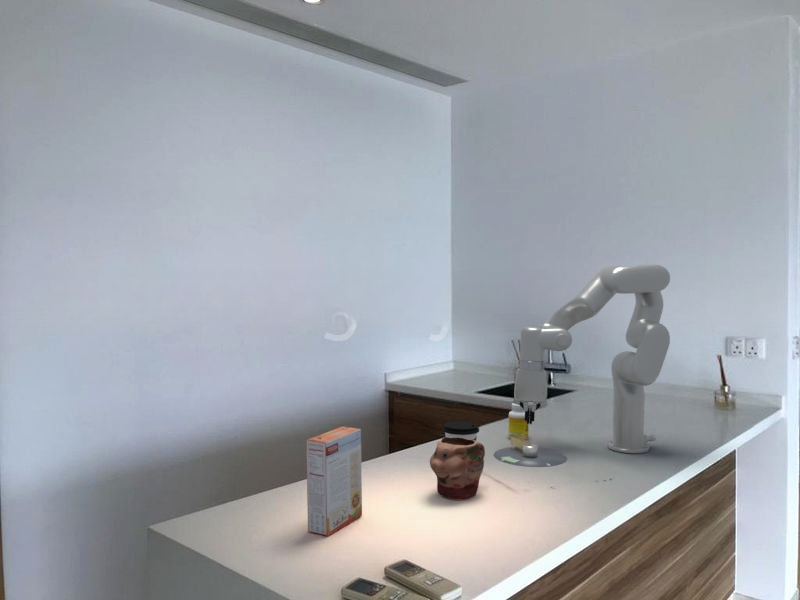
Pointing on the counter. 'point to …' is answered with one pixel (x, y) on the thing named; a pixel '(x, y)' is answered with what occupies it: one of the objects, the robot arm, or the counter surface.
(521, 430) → the supplement bottle
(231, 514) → the counter surface
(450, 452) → the decorative planter
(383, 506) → the counter surface
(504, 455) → the dial
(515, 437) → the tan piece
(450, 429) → the coffee cup
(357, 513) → the cracker box
